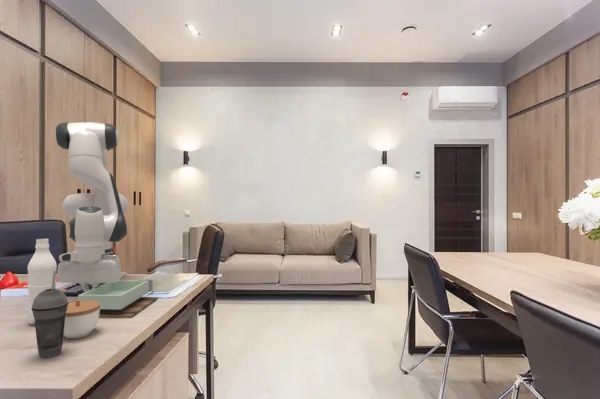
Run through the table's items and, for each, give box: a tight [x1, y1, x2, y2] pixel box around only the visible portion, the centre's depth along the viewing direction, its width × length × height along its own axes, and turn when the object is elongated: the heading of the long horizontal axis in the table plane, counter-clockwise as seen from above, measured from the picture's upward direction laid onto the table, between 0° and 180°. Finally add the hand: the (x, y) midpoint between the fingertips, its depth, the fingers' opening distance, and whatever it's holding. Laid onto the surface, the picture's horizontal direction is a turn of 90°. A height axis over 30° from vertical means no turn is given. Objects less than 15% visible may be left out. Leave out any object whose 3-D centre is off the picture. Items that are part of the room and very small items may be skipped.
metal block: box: [137, 279, 154, 292], centre depth 137 cm, size 5×5×5 cm
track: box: [99, 296, 159, 319], centre depth 120 cm, size 20×20×1 cm
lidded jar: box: [63, 299, 100, 340], centre depth 97 cm, size 11×11×9 cm
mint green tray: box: [77, 279, 149, 311], centre depth 120 cm, size 20×14×6 cm
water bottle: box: [26, 238, 58, 326], centre depth 106 cm, size 7×7×25 cm
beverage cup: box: [32, 270, 69, 358], centre depth 85 cm, size 7×7×20 cm
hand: (89, 295), depth 120 cm, fingers closed
